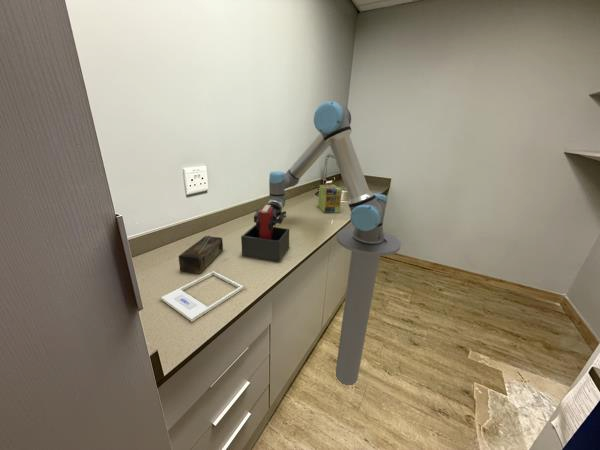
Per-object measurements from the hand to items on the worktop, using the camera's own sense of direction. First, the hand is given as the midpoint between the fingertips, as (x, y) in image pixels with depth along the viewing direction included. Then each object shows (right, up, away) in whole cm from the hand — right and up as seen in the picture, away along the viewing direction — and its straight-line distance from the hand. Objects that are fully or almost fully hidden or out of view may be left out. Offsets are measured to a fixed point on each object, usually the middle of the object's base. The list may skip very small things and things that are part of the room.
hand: (263, 226), depth 91 cm
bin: (0, -11, +10) cm, 14 cm away
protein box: (+33, +11, +71) cm, 79 cm away
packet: (0, -5, +8) cm, 9 cm away
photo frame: (-15, -21, -18) cm, 31 cm away
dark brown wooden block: (-23, -13, +1) cm, 27 cm away
